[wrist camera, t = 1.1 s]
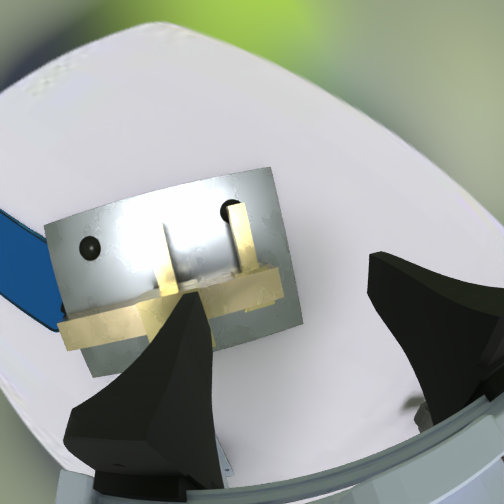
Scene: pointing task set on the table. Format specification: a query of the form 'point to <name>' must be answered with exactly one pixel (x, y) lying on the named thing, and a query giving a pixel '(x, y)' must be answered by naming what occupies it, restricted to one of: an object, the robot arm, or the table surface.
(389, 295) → the robot arm
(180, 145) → the table surface
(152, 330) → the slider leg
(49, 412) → the table surface
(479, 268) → the table surface
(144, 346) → the base
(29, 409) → the table surface
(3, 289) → the smartphone
